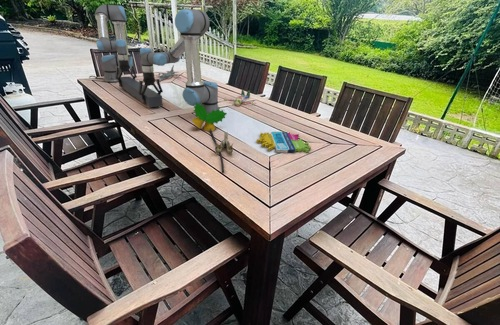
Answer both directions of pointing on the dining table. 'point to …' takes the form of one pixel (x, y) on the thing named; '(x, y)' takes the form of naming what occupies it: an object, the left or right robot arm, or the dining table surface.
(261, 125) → the dining table surface
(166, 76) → the airplane
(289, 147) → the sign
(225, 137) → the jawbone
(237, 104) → the toy
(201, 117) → the ornament
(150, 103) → the wide beam
